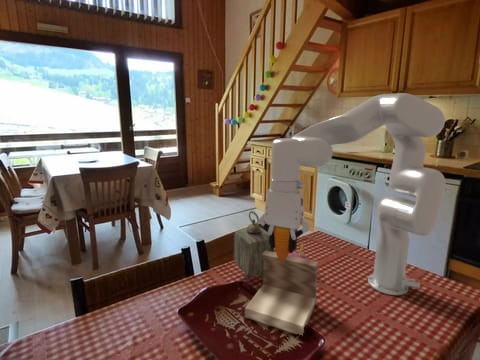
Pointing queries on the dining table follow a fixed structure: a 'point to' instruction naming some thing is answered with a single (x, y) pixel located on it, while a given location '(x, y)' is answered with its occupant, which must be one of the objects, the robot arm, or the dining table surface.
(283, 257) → the carrot
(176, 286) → the dining table surface
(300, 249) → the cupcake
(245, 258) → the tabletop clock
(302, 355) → the dining table surface
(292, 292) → the shelf
